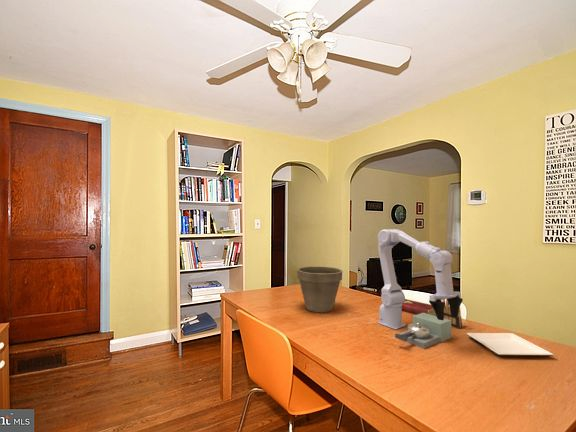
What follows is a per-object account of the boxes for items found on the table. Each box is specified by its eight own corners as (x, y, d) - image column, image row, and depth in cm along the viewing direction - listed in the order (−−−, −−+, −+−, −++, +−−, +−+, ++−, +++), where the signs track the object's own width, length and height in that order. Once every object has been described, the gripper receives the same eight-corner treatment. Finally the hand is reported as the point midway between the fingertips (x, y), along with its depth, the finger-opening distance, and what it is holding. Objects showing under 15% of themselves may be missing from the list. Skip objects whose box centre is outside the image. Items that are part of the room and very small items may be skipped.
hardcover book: (428, 319, 138) (428, 310, 138) (390, 309, 154) (390, 301, 155) (440, 314, 145) (440, 306, 145) (403, 305, 162) (402, 297, 162)
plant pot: (349, 306, 158) (348, 268, 159) (331, 319, 137) (331, 274, 138) (310, 300, 172) (310, 264, 172) (288, 310, 151) (288, 270, 152)
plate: (465, 337, 114) (465, 332, 115) (512, 337, 114) (512, 332, 114) (498, 359, 96) (498, 353, 96) (554, 360, 95) (554, 354, 95)
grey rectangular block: (397, 338, 114) (396, 321, 114) (423, 328, 124) (423, 312, 124) (425, 349, 104) (425, 330, 104) (451, 337, 114) (451, 320, 114)
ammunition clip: (462, 328, 124) (461, 301, 125) (459, 328, 124) (458, 301, 124) (440, 320, 134) (439, 295, 134) (437, 321, 133) (437, 296, 134)
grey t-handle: (415, 329, 117) (415, 318, 117) (434, 335, 111) (433, 324, 111) (391, 338, 108) (390, 326, 108) (409, 345, 102) (409, 333, 102)
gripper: (439, 285, 102) (443, 323, 101) (466, 281, 107) (470, 317, 106) (423, 283, 108) (427, 319, 107) (449, 279, 114) (453, 313, 113)
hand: (447, 318), depth 107 cm, fingers open, 7 cm apart
